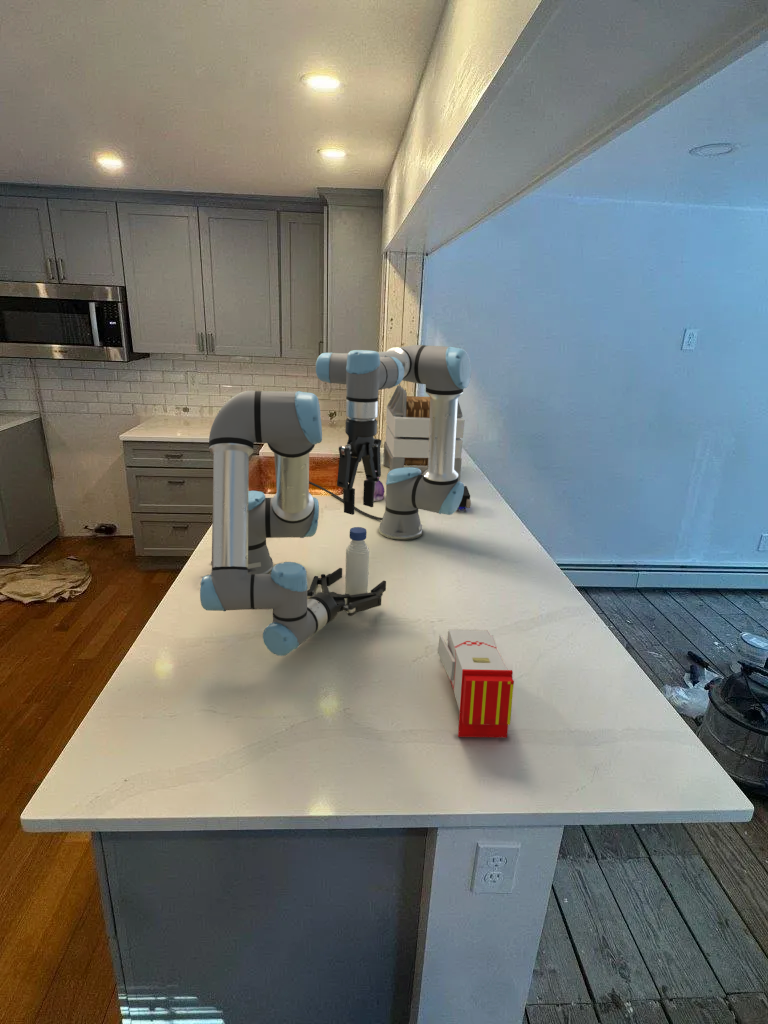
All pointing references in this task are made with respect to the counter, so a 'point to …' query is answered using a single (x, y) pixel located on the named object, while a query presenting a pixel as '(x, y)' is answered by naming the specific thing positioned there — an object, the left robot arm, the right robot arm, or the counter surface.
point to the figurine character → (465, 500)
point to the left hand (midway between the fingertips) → (362, 578)
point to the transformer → (413, 432)
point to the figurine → (378, 490)
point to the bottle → (356, 568)
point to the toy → (478, 682)
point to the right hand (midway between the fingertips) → (358, 509)
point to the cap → (358, 533)
